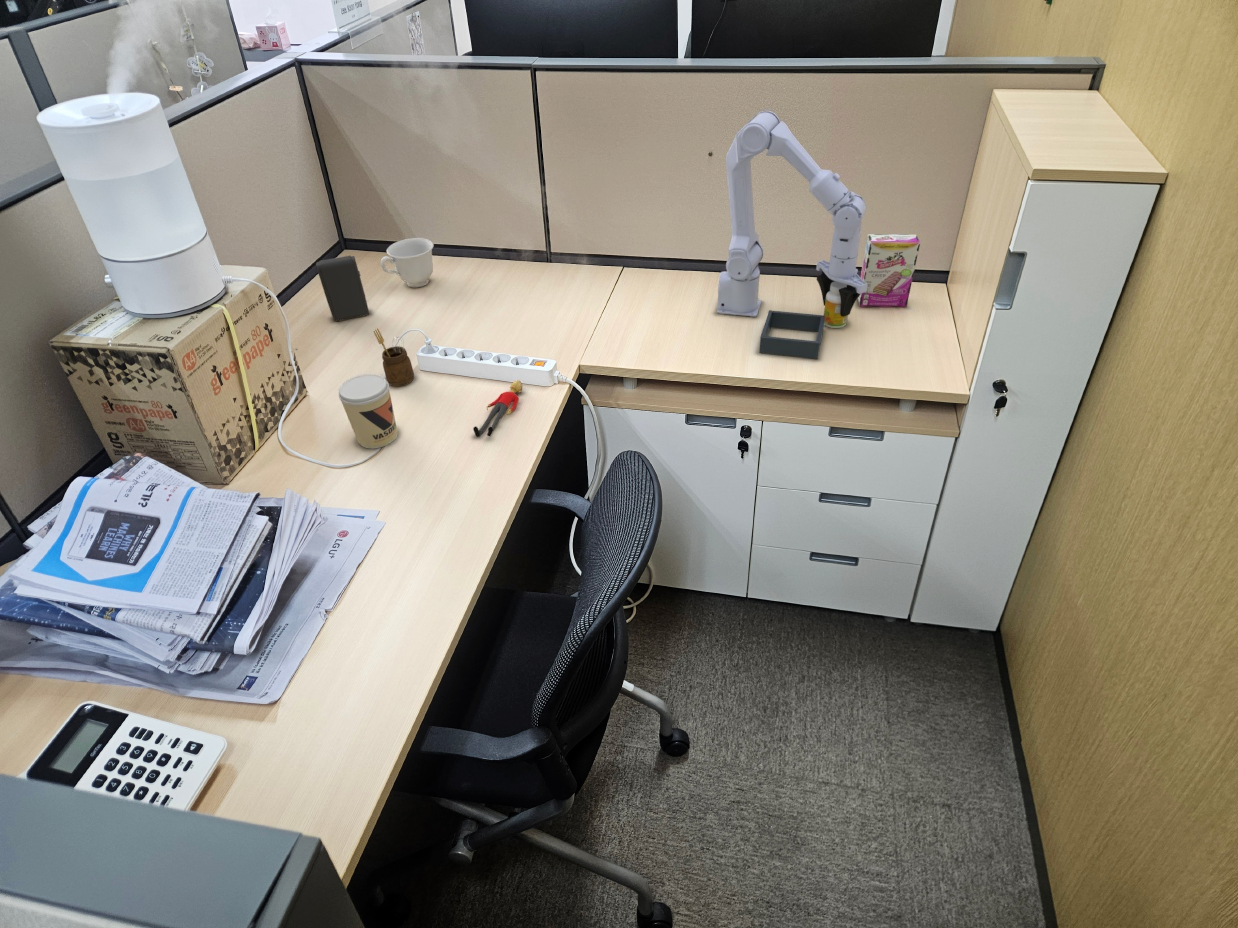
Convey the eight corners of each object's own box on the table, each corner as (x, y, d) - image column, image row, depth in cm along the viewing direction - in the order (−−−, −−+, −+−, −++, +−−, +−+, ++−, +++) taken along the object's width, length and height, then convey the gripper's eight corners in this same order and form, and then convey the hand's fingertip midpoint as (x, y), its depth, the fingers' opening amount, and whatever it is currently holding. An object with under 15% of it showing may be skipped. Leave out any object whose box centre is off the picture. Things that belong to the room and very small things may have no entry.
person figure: (471, 418, 153) (509, 369, 166) (468, 433, 155) (507, 384, 168) (495, 429, 152) (532, 379, 165) (492, 443, 155) (528, 393, 168)
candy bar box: (859, 308, 188) (869, 242, 178) (856, 298, 192) (866, 233, 182) (908, 308, 187) (921, 242, 176) (904, 298, 191) (916, 233, 180)
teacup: (377, 287, 210) (367, 251, 204) (425, 269, 217) (417, 234, 211) (400, 301, 203) (391, 265, 196) (449, 282, 210) (442, 246, 204)
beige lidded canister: (377, 456, 152) (361, 405, 144) (343, 442, 156) (326, 391, 148) (411, 431, 158) (398, 380, 150) (378, 418, 162) (363, 368, 154)
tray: (759, 353, 174) (760, 337, 172) (767, 325, 184) (769, 310, 181) (817, 359, 171) (819, 343, 169) (823, 331, 180) (825, 315, 178)
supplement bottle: (819, 318, 185) (824, 280, 179) (842, 316, 185) (847, 278, 179) (826, 329, 181) (831, 291, 175) (849, 327, 181) (855, 288, 175)
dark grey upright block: (370, 309, 200) (354, 253, 191) (371, 316, 197) (355, 259, 188) (332, 316, 198) (315, 259, 189) (333, 323, 195) (316, 266, 186)
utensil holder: (405, 389, 170) (392, 340, 163) (380, 384, 172) (367, 336, 164) (420, 374, 174) (408, 326, 167) (395, 370, 176) (383, 322, 169)
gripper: (881, 261, 169) (872, 318, 177) (836, 238, 179) (829, 293, 187) (856, 269, 166) (847, 326, 175) (811, 246, 176) (805, 301, 185)
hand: (836, 310), depth 181 cm, fingers closed on supplement bottle, 5 cm apart
